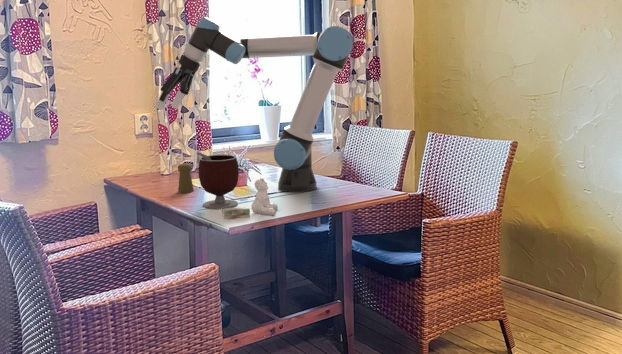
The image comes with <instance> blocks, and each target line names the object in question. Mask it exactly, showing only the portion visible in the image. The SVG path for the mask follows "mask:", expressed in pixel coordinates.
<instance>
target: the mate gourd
mask: <svg viewBox="0 0 622 354" xmlns="http://www.w3.org/2000/svg"><path fill="white" fill-rule="evenodd" d="M196 155H198V156H200V157H199V161H198V178H199V182H200V187H202V189H203V190H204V191H205V192H206V193H208V194H211V195H213V196H215V199H213V200H207V201H205V202H203V203H202V208H204V209H206V208H207V210H222V209H225V208H237V206H238V204H239V203H238V201H236V200H233V199H226V198H225V195H226V194H228V193H231V192H233V191H234V190H235V188H236V187H237V185H238V183H239V182H238V181H239V164H238V159H237V156H236V155H233V154H213V155H211V154H210V155H207V154H204V153H202V152H196Z"/></svg>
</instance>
